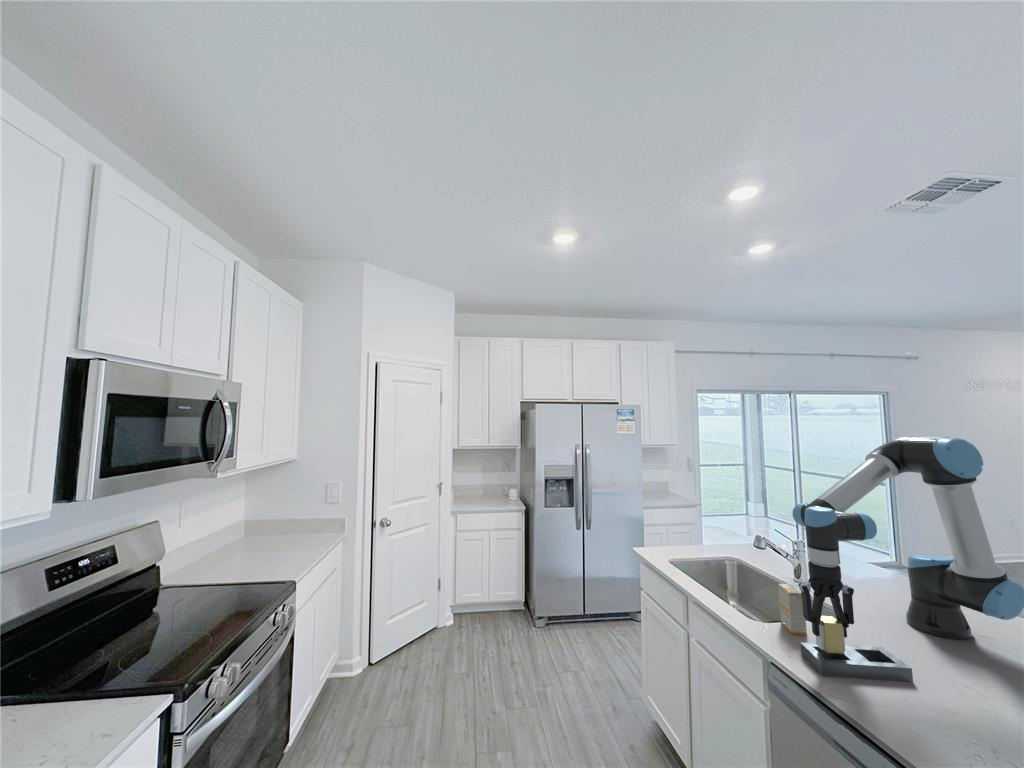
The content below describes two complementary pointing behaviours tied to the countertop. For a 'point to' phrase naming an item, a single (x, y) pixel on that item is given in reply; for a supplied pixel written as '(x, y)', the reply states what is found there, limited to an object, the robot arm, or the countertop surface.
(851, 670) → the grey flat slotted block
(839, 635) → the brass block
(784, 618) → the supplement box
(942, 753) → the countertop surface
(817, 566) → the robot arm
